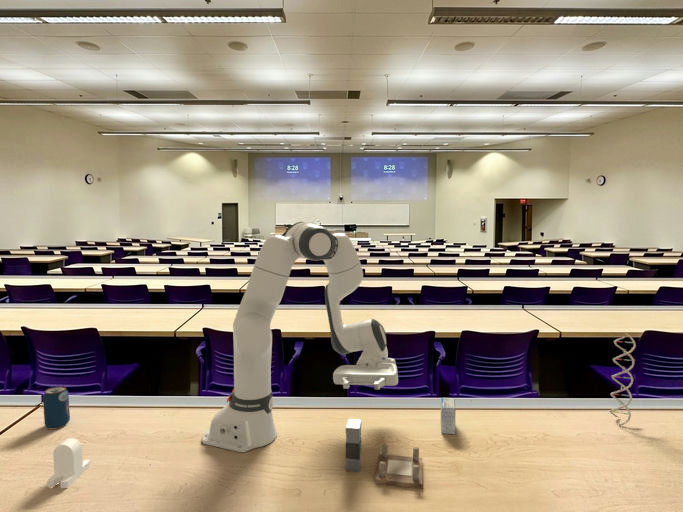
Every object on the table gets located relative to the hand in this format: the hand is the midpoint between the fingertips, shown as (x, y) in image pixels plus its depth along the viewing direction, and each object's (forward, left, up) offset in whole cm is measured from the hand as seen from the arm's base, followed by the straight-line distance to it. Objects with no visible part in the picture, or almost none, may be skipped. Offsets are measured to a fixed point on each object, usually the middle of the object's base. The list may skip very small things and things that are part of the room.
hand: (360, 386), depth 127 cm
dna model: (+84, +29, -18) cm, 90 cm away
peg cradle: (+12, -12, -18) cm, 25 cm away
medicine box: (+27, +15, -19) cm, 36 cm away
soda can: (-99, -5, -18) cm, 101 cm away
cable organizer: (-73, -29, -19) cm, 81 cm away
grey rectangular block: (0, -12, -18) cm, 22 cm away
